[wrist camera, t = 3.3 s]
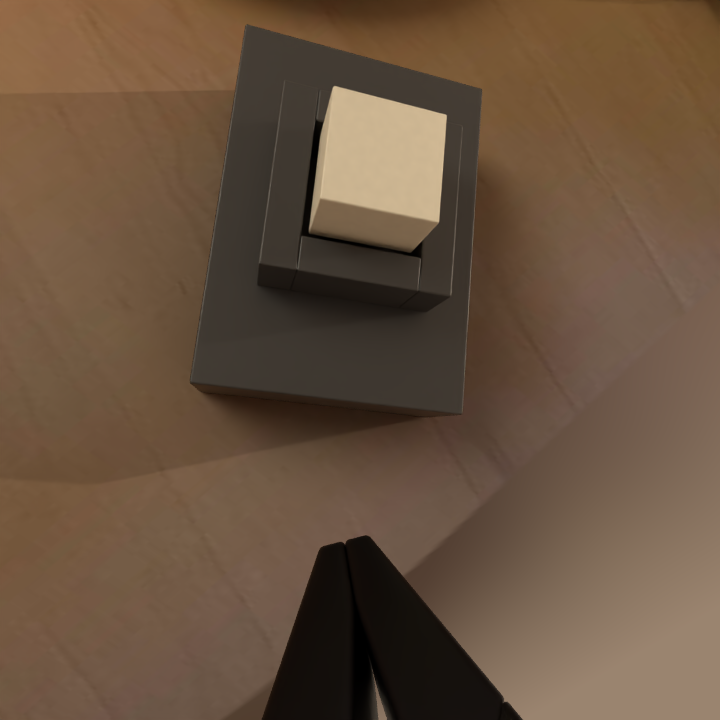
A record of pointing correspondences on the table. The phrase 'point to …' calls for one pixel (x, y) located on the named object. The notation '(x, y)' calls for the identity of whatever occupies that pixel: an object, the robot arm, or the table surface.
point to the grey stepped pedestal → (332, 249)
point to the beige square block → (378, 171)
